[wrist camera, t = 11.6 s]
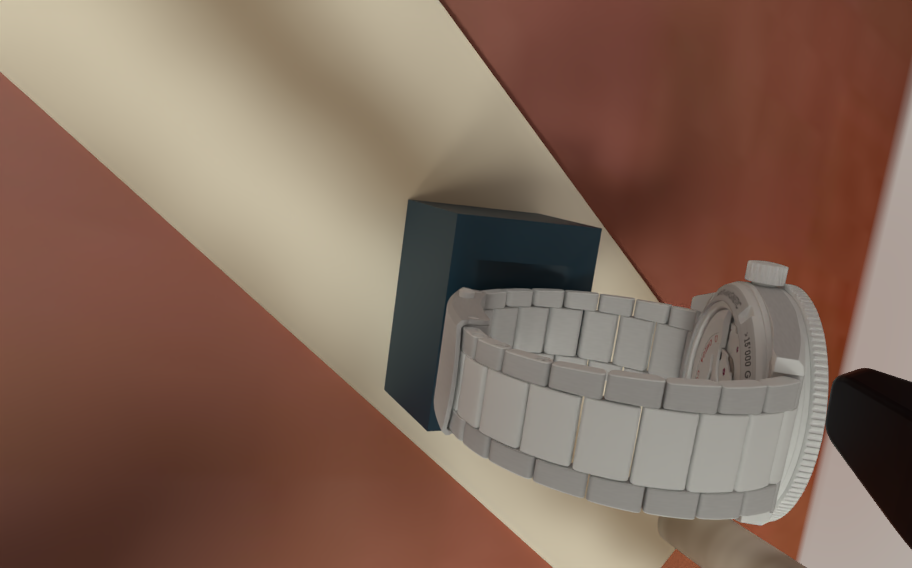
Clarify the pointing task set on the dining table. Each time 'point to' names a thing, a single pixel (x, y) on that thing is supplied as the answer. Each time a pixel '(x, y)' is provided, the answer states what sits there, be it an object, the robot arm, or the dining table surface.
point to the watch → (606, 369)
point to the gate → (335, 193)
